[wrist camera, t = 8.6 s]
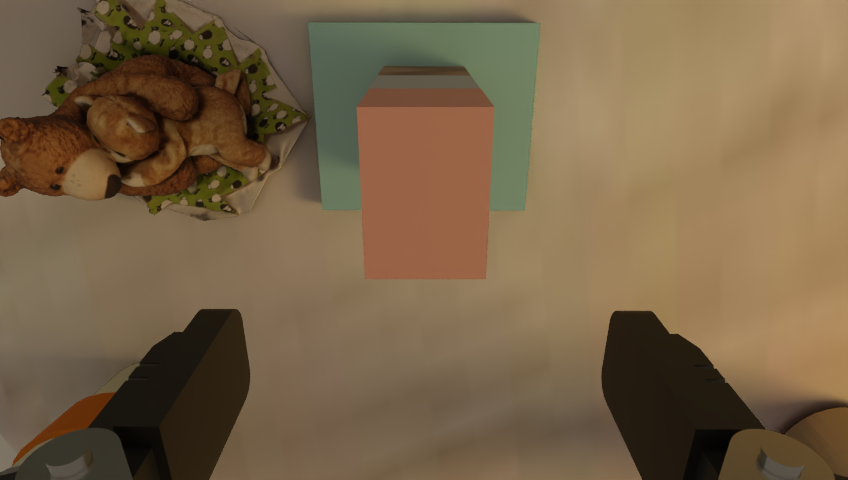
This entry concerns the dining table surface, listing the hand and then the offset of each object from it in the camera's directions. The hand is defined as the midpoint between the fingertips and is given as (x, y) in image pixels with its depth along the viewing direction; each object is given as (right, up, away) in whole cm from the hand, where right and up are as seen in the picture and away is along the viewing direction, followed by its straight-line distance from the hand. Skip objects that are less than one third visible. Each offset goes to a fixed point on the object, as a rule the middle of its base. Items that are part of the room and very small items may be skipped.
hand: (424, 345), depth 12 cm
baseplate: (0, +10, +24) cm, 26 cm away
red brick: (0, +6, +14) cm, 15 cm away
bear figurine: (-16, +11, +24) cm, 31 cm away
